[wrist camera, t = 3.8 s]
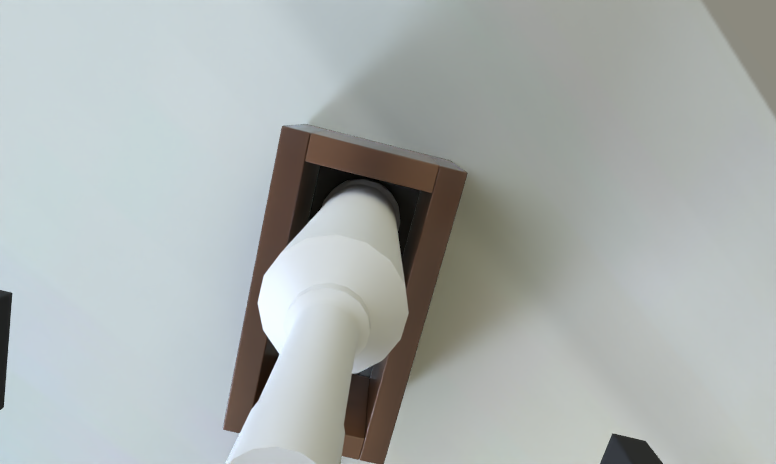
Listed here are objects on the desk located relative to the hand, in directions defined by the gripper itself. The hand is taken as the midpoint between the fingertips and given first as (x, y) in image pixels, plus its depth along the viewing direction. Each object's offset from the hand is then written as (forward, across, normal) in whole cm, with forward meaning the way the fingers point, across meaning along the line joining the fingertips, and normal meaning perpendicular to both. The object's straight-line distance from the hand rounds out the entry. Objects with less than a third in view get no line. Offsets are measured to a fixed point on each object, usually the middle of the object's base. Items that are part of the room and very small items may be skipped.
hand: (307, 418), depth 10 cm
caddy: (+23, 0, -4) cm, 23 cm away
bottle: (+23, 0, 0) cm, 23 cm away
